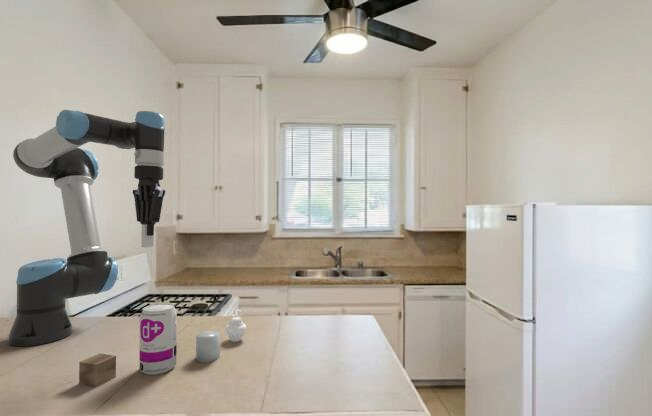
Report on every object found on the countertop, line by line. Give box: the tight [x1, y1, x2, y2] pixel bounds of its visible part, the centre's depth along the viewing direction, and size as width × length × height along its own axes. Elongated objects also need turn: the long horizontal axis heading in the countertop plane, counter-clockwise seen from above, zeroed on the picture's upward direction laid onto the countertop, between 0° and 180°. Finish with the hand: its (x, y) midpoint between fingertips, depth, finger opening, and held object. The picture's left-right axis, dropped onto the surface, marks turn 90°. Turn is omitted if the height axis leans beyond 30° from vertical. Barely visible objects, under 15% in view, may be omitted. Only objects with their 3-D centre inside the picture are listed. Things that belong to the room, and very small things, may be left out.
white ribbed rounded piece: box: [225, 316, 247, 343], centre depth 106 cm, size 6×6×7 cm
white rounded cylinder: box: [195, 330, 221, 363], centre depth 93 cm, size 6×6×6 cm
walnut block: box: [78, 352, 117, 388], centre depth 80 cm, size 5×5×5 cm
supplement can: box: [138, 303, 178, 376], centre depth 87 cm, size 8×8×15 cm
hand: (147, 246), depth 102 cm, fingers closed
